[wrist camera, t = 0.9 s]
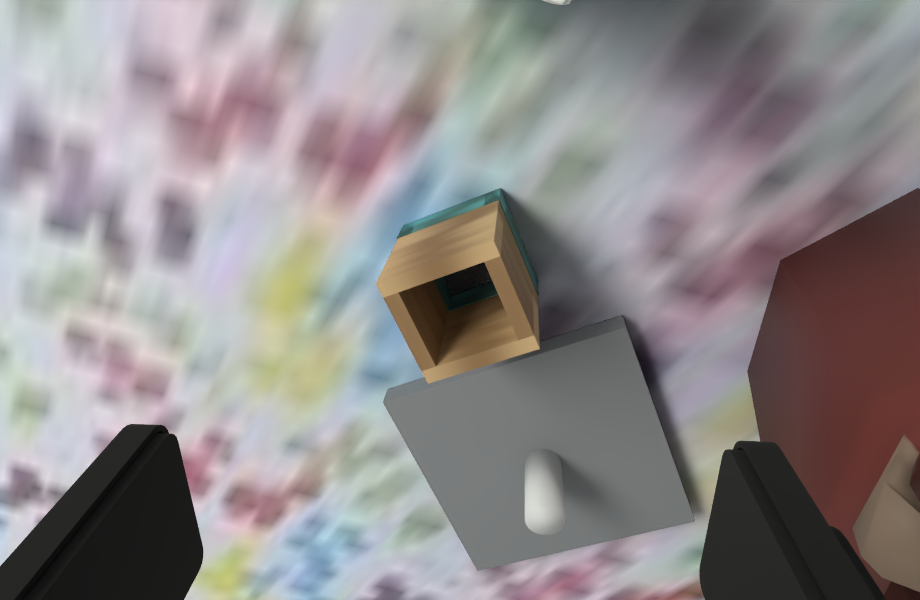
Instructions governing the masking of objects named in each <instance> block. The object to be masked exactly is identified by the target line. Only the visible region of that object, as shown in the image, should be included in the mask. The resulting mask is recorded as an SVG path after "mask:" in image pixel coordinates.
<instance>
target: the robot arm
mask: <svg viewBox="0 0 920 600" xmlns="http://www.w3.org/2000/svg"><path fill="white" fill-rule="evenodd" d="M202 560H203V545H202V541H201V537H200V533H199V528H198V524H197V520H196V516H195V511H194V507H193V503H192V499H191V494H190V490H189V486H188V482H187V478H186V473H185V469H184V465H183V461H182V456H181V452H180V448H179V444H178V440H177V437H176V436H175V435H174V434H169V432H168V430H167V429H166V427H165V426H162V425H143V424H130V425H127V426H126V427H124V428H123V429H122V430H121V431H120V432H119V433H118V435H117V436H116V437H115V438H114V439H113V440H112V441H111V442H110V444H109V445H108V446H107V447H106V448H105V449H104V450H103V451H102V453H101V454H100V455H99V456H98V457H97V458H96V459H95V460H94V462H93V463H92V464H91V465H90V466H89V467H88V468H87V469H86V471H85V472H84V473H83V474H82V475H81V476H80V477H79V478H78V480H77V481H76V482H75V483H74V484H73V485H72V486H71V487H70V489H69V490H68V491H67V492H66V493H65V494H64V495H63V496H62V498H61V499H60V500H59V501H58V502H57V503H56V504H55V505H54V507H53V508H52V509H51V510H50V511H49V512H48V513H47V514H46V516H45V517H44V518H43V519H42V520H41V521H40V522H39V523H38V525H37V526H36V527H35V528H34V529H33V530H32V531H31V532H30V534H29V535H28V536H27V537H26V538H25V539H24V540H23V541H22V543H21V544H20V545H19V546H18V547H17V548H16V549H15V550H14V552H13V553H12V554H11V555H10V556H9V557H8V558H7V559H6V561H5V562H4V563H3V564H2V565H1V566H0V600H184V598H185V597H186V595H187V593H188V591H189V589H190V587H191V585H192V583H193V581H194V580H195V578H196V576H197V574H198V572H199V570H200V567H201V564H202ZM700 584H701V588H702V592H703V595H704V598H705V600H886V598H885V597H884V595H883V594H882V592H881V590H880V589H879V587H878V586H877V584H876V583H875V581H874V580H873V578H872V577H871V575H870V574H869V572H868V571H867V569H866V567H865V566H864V564H863V563H862V561H861V560H860V558H859V557H858V555H857V554H856V552H855V551H854V549H853V548H852V546H851V544H850V543H849V541H848V540H847V538H846V537H845V536H844V535H843V534H842V532H841V531H840V530H838V529H837V528H835V527H833V526H829V524H828V523H827V521H826V520H825V518H824V517H823V515H822V513H821V512H820V510H819V509H818V507H817V506H816V504H815V502H814V501H813V499H812V498H811V496H810V495H809V493H808V491H807V490H806V488H805V487H804V485H803V484H802V482H801V480H800V479H799V477H798V476H797V474H796V472H795V471H794V469H793V468H792V466H791V465H790V463H789V461H788V460H787V458H786V457H785V455H784V454H783V452H782V450H781V449H780V447H779V446H778V445H777V444H776V443H774V442H757V441H739V442H737V443H736V444H735V446H734V449H733V450H725V451H724V453H723V456H722V461H721V466H720V470H719V475H718V480H717V485H716V490H715V495H714V500H713V505H712V510H711V515H710V519H709V524H708V529H707V534H706V539H705V544H704V549H703V554H702V559H701V564H700Z"/></svg>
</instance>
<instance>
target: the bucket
mask: <svg viewBox="0 0 920 600" xmlns="http://www.w3.org/2000/svg"><path fill="white" fill-rule="evenodd" d="M748 377H749V382H750V387H751V393H752V398H753V403H754V409H755V414H756V420H757V425H758V430H759V436H760V441H761V442H774V443H776V444H777V445H778V446H779V447H780V449H781V450H782V452H783V454H784V455H785V457H786V458H787V460H788V461H789V463H790V465H791V466H792V468H793V469H794V471H795V472H796V474H797V476H798V477H799V479H800V480H801V482H802V484H803V485H804V487H805V488H806V490H807V491H808V493H809V495H810V496H811V498H812V499H813V501H814V502H815V504H816V506H817V507H818V509H819V510H820V512H821V513H822V515H823V517H824V518H825V520H826V521H827V523H828V524H829V526H833V527H835V528H837V529H838V530H840V531H841V532H842V534H843V535H844V536H845V537H846V538H847V540H848V541H849V543H850V544H851V546H852V548H853V549H854V551H855V552H856V554H857V555H858V557H859V558H860V560H861V561H862V563H863V564H864V566H865V567H866V569H867V571H868V572H869V574H870V575H871V577H872V578H873V580H874V581H875V583H876V584H877V586H878V587H879V589H880V590H881V592H882V594H883V595H884V597H885V598H886V600H920V189H918V188H917V189H915V190H913V191H912V192H910V193H908V194H906V195H904V196H902V197H900V198H898V199H896V200H894V201H893V202H891V203H889V204H887V205H885V206H883V207H881V208H879V209H877V210H875V211H874V212H872V213H870V214H868V215H866V216H864V217H862V218H860V219H858V220H856V221H855V222H853V223H851V224H849V225H847V226H845V227H843V228H841V229H839V230H837V231H836V232H834V233H832V234H830V235H828V236H826V237H824V238H822V239H820V240H818V241H817V242H815V243H813V244H811V245H809V246H807V247H805V248H803V249H801V250H799V251H798V252H796V253H794V254H792V255H790V256H788V257H786V258H784V259H782V260H780V264H779V267H778V270H777V274H776V277H775V280H774V284H773V287H772V291H771V294H770V297H769V301H768V304H767V307H766V311H765V314H764V317H763V321H762V324H761V328H760V331H759V334H758V338H757V341H756V344H755V348H754V351H753V354H752V358H751V361H750V365H749V368H748Z"/></svg>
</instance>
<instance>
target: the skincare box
mask: <svg viewBox="0 0 920 600" xmlns="http://www.w3.org/2000/svg"><path fill="white" fill-rule="evenodd" d="M543 1H546V2H548V3H552V4H555V5H564V4H565V5H568V4H570V2H571V0H543Z"/></svg>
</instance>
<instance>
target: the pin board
mask: <svg viewBox="0 0 920 600" xmlns="http://www.w3.org/2000/svg"><path fill="white" fill-rule="evenodd" d="M383 403H384V405H385V407H386V409H387V410H388V412H389V414H390V416H391V418H392V419H393V421H394V423H395V425H396V426H397V428H398V430H399V432H400V434H401V435H402V437H403V439H404V441H405V442H406V444H407V446H408V448H409V450H410V451H411V453H412V455H413V457H414V458H415V460H416V462H417V464H418V466H419V467H420V469H421V471H422V473H423V475H424V476H425V478H426V480H427V482H428V483H429V485H430V487H431V489H432V491H433V492H434V494H435V496H436V498H437V499H438V501H439V503H440V505H441V507H442V508H443V510H444V512H445V514H446V516H447V517H448V519H449V521H450V523H451V524H452V526H453V528H454V530H455V532H456V533H457V535H458V537H459V539H460V540H461V542H462V544H463V546H464V548H465V549H466V551H467V553H468V555H469V556H470V558H471V560H472V562H473V564H474V565H475V567H476V569H477V571H478V570H483V569H487V568H492V567H496V566H500V565H505V564H509V563H514V562H518V561H522V560H527V559H531V558H536V557H540V556H544V555H549V554H553V553H558V552H562V551H566V550H571V549H575V548H580V547H584V546H588V545H593V544H597V543H602V542H606V541H610V540H615V539H619V538H624V537H628V536H633V535H637V534H641V533H646V532H650V531H655V530H659V529H663V528H668V527H672V526H677V525H681V524H685V523H690V522H694V521H695V519H694V516H693V513H692V510H691V507H690V504H689V501H688V498H687V495H686V493H685V490H684V487H683V484H682V481H681V478H680V476H679V473H678V470H677V467H676V464H675V462H674V459H673V456H672V453H671V450H670V448H669V445H668V442H667V439H666V436H665V434H664V431H663V428H662V425H661V422H660V419H659V417H658V414H657V411H656V408H655V405H654V403H653V400H652V397H651V394H650V391H649V389H648V386H647V383H646V380H645V377H644V374H643V372H642V369H641V366H640V363H639V360H638V358H637V355H636V352H635V349H634V346H633V344H632V341H631V338H630V335H629V332H628V330H627V327H626V324H625V321H624V318H623V315H622V316H618V317H615V318H612V319H609V320H606V321H603V322H599V323H596V324H593V325H590V326H587V327H584V328H580V329H577V330H574V331H571V332H568V333H565V334H561V335H558V336H555V337H552V338H549V339H546V340H542V341H540V349H538V350H535V351H531V352H528V353H525V354H522V355H519V356H515V357H512V358H509V359H506V360H503V361H499V362H496V363H493V364H490V365H487V366H483V367H480V368H477V369H474V370H471V371H467V372H464V373H461V374H458V375H455V376H451V377H448V378H445V379H442V380H439V381H435V382H432V383H429V384H428V383H427V381H426V379H425V378H422V379H419V380H416V381H412V382H409V383H406V384H403V385H400V386H397V387H393V388H390V389H388V390H387V392H386V395H385V398H384V401H383Z"/></svg>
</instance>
